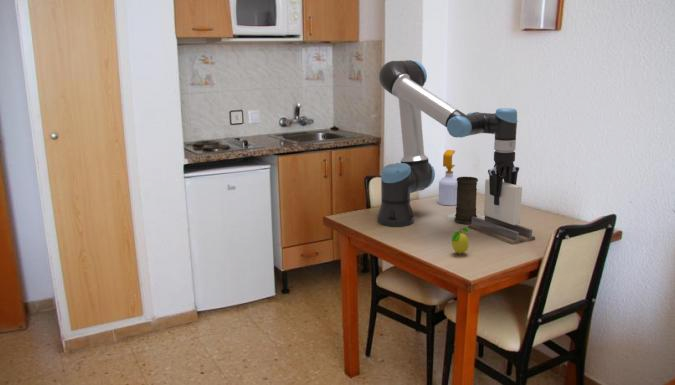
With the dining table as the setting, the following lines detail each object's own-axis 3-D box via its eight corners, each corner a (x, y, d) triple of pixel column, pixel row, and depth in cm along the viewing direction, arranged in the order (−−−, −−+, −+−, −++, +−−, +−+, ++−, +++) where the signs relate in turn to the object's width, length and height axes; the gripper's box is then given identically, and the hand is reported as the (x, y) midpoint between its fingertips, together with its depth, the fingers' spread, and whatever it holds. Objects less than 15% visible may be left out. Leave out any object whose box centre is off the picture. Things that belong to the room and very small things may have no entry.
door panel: (513, 225, 203) (515, 187, 200) (483, 214, 217) (485, 179, 213) (521, 223, 204) (523, 186, 201) (491, 213, 218) (492, 178, 215)
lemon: (468, 251, 193) (469, 223, 190) (471, 256, 187) (472, 228, 185) (448, 251, 193) (449, 223, 191) (451, 256, 187) (452, 228, 185)
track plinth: (512, 244, 199) (512, 233, 198) (468, 227, 220) (468, 217, 219) (534, 239, 204) (535, 229, 203) (489, 223, 225) (490, 213, 224)
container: (477, 224, 223) (479, 181, 219) (454, 224, 225) (456, 180, 220) (476, 218, 231) (478, 176, 227) (454, 217, 233) (455, 175, 229)
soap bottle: (461, 202, 258) (463, 149, 252) (454, 206, 251) (455, 152, 245) (442, 200, 263) (444, 148, 257) (435, 204, 255) (436, 151, 250)
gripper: (494, 154, 198) (491, 217, 203) (528, 150, 205) (524, 212, 210) (480, 151, 204) (478, 213, 210) (513, 147, 211) (510, 207, 217)
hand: (501, 212), depth 210 cm, fingers closed on door panel, 3 cm apart
